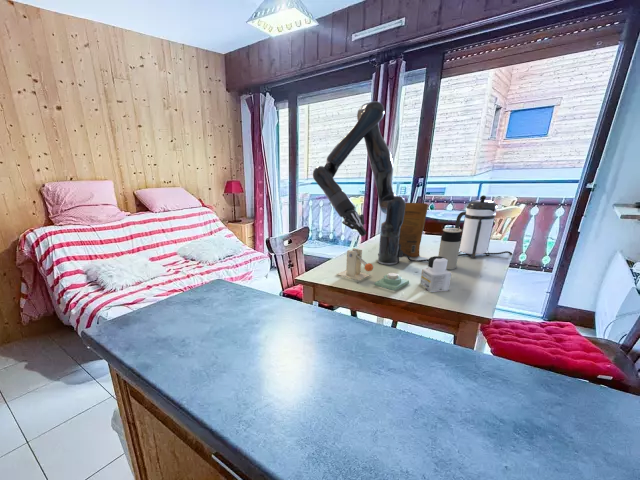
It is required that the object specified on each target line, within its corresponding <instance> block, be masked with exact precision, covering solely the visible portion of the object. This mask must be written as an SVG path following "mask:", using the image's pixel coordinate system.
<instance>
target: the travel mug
mask: <svg viewBox="0 0 640 480" xmlns="http://www.w3.org/2000/svg"><path fill="white" fill-rule="evenodd" d="M442 231H443V233H442V235H441V236H440V244H439V249H438V255H437V256H440V257H444V258H446V259H447V260H448V261H447V267H446V270H454V269H456V268H457V264H458V258H459V256H458V255H459V254H460V253H459V252H460V242H461V235H462V228H459V229H457V228H455V227H445V228H442ZM458 253H459V254H458Z"/></svg>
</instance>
